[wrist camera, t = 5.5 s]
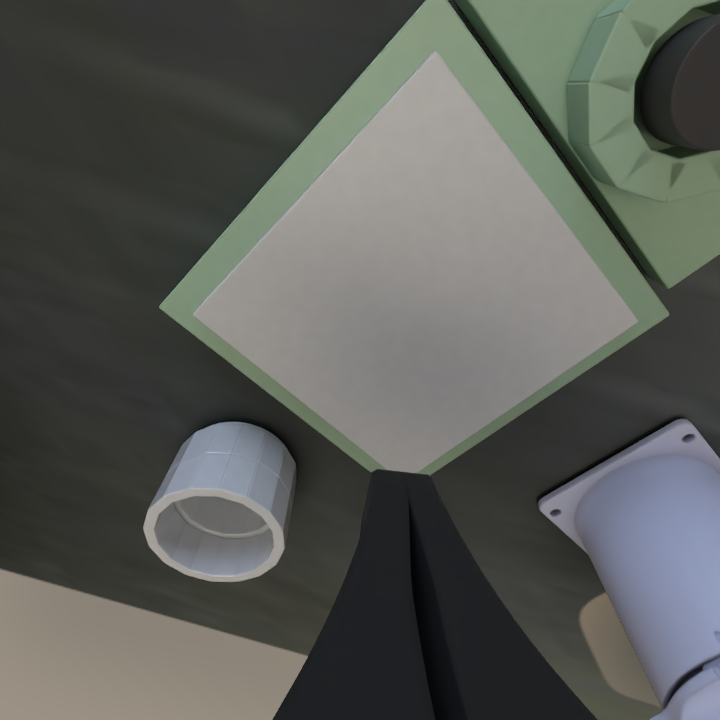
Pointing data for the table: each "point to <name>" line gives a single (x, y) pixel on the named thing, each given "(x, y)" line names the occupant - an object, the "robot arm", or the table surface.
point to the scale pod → (612, 116)
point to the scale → (417, 263)
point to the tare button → (685, 88)
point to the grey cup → (224, 504)
